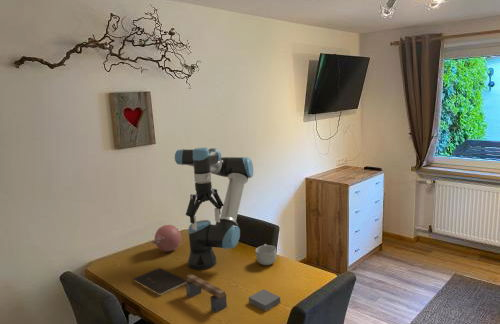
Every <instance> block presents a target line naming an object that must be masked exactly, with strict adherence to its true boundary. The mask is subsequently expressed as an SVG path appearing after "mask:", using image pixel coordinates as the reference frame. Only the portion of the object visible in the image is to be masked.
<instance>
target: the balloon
mask: <svg viewBox="0 0 500 324" xmlns="http://www.w3.org/2000/svg"><path fill="white" fill-rule="evenodd" d="M181 241H182V234H181V231H180V230H179V228H178V227H176V226H175V225H173V224H164V225H162V226H160V227H159V228H158V229H157V230H156V232H155V235H154V240H152V241H151V243H152V244H154V245H156V247H157V248H158V249H159V250H161V251H163V252H172V251H174V250H176V249H177V248H178V247H179V246H180V244H181Z"/></svg>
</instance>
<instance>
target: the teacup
mask: <svg viewBox="0 0 500 324" xmlns="http://www.w3.org/2000/svg"><path fill="white" fill-rule="evenodd" d="M254 251H255V257H256V260H257V262H258V263H259V264H260V265H262V266H270V265H272V264H273V263H275V262H276V260H277V248H276V246H274V245H269V244H267V243H264V244H263V245H260V246H258V247H256V248H255V250H254Z"/></svg>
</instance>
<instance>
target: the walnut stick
mask: <svg viewBox="0 0 500 324" xmlns="http://www.w3.org/2000/svg"><path fill="white" fill-rule="evenodd" d="M186 280H187V282H190V283H192V284H194V285H196V286H197V287H199V288H201V290H203V291H204V292H207V293H209V294H210V295H211V296H213V295H214V296H216V297H218V298H219V299H222V298H224V297H225V294H226V291H225V290H223V289H221V288H219V287H218V286H215V285H213V284H211V283H210V282H207V281H206V280H204V279H202V278H200V277H198V276H197V275H194V274H192V273H190V274H188V275H186Z"/></svg>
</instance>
